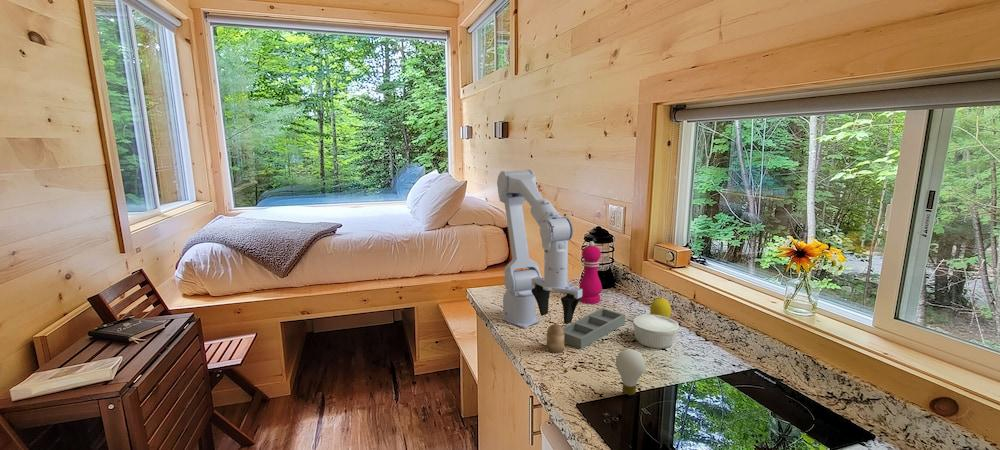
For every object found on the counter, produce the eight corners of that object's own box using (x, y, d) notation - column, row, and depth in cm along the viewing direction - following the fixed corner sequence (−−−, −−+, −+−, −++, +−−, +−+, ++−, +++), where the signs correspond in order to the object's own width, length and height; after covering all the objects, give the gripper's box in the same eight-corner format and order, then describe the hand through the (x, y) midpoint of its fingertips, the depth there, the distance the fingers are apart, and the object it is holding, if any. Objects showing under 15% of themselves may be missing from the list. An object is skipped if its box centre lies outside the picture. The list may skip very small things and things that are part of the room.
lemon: (671, 328, 126) (673, 301, 124) (650, 327, 127) (652, 300, 125) (668, 320, 131) (670, 294, 129) (648, 319, 132) (649, 293, 131)
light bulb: (610, 387, 97) (612, 344, 95) (637, 386, 98) (639, 343, 96) (620, 403, 91) (621, 358, 89) (648, 401, 92) (650, 356, 90)
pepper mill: (604, 299, 149) (606, 240, 145) (597, 306, 143) (598, 244, 139) (584, 295, 153) (585, 237, 149) (575, 302, 147) (576, 242, 143)
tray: (557, 340, 120) (557, 330, 119) (602, 316, 135) (602, 307, 134) (580, 349, 115) (581, 339, 114) (624, 323, 129) (625, 314, 129)
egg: (543, 349, 115) (543, 325, 114) (554, 343, 118) (554, 320, 117) (556, 354, 112) (557, 330, 111) (567, 348, 115) (567, 324, 114)
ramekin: (684, 340, 119) (685, 321, 118) (666, 355, 111) (667, 335, 110) (644, 328, 126) (644, 310, 125) (624, 342, 118) (625, 323, 117)
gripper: (523, 264, 113) (523, 315, 116) (569, 276, 103) (569, 331, 106) (541, 258, 118) (541, 307, 121) (587, 269, 108) (586, 322, 110)
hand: (555, 318), depth 113 cm, fingers open, 7 cm apart
